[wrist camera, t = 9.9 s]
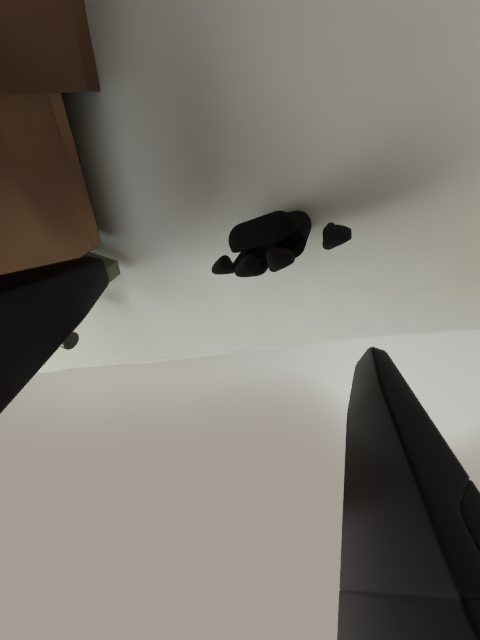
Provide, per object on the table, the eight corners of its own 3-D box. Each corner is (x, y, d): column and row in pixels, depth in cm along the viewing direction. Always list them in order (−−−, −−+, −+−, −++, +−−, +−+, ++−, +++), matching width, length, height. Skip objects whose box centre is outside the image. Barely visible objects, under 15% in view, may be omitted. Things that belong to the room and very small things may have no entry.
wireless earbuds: (236, 253, 17) (203, 298, 13) (219, 215, 15) (177, 254, 12) (354, 219, 13) (352, 269, 10) (345, 166, 12) (339, 202, 8)
